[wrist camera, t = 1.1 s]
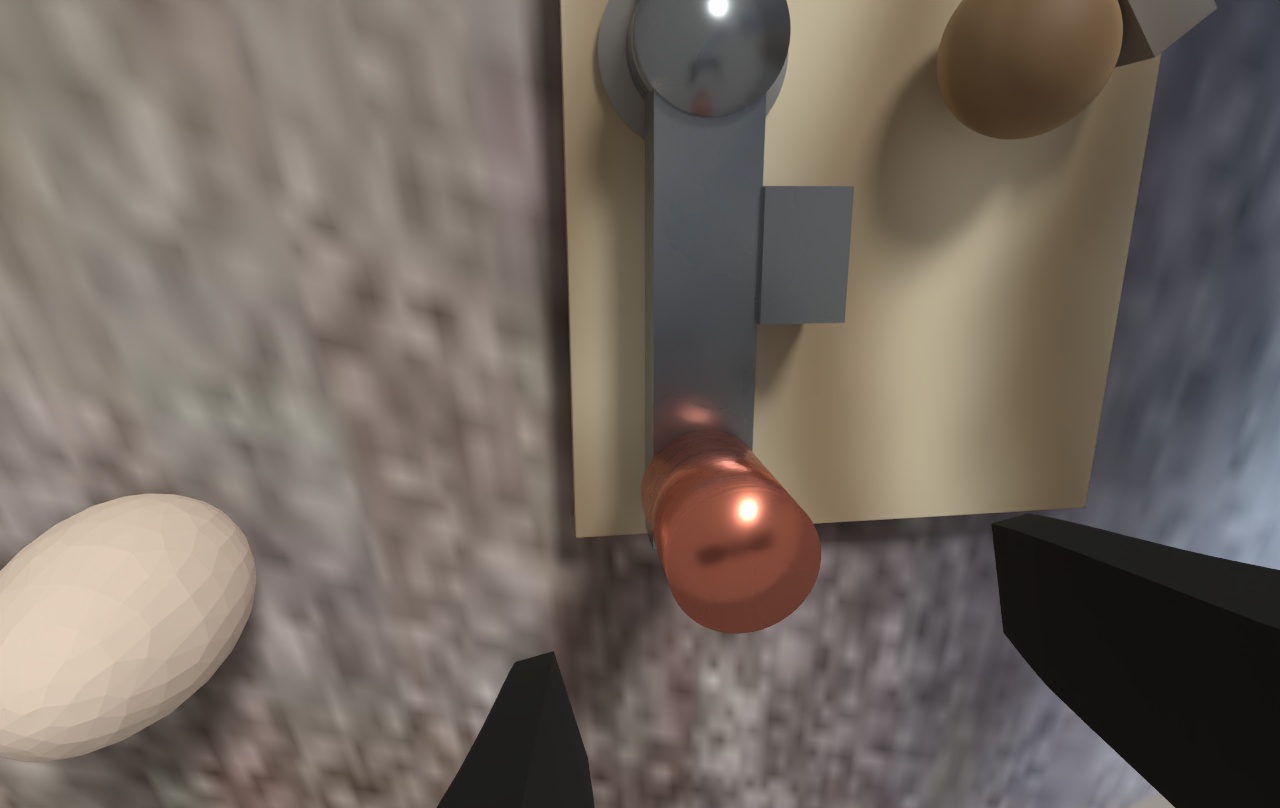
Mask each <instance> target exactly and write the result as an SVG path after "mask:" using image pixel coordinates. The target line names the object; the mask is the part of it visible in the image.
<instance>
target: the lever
mask: <svg viewBox="0 0 1280 808" xmlns="http://www.w3.org/2000/svg"><path fill="white" fill-rule="evenodd" d="M790 34H791V24H790V14H789V9H788V5H787V1H786V0H639V2H638V4H637V6H636V9H635V11H634V13H633V15H632V18H631V20H630V24H629V27H628V32H627V38H626V58H627V64H628V69H629V72H630V75H631V79H632V81H633V83H634V85H635V87H636V89H637V91H638V92H639V94H640V96H641V97H642V98H643V99H644V101H645V473H644V476H643V480H642V485H641V501H642V506H643V510H644V512H645V527H646V530H647V533H648V536H649V539H650V542H651V545H652V548H653V550H657V551H658V553H659V556H660V559H661V562H662V565H663V568H664V571H665V574H666V577H667V580H668V583H669V586H670V588H671V591H672V594H673V596H674V598H675V600H676V602H677V603H678V605H679V606H680V607H681V609H682V610H683V611H684V612H685V613H686V614H687V615H688V616H689V617H690V618H691V619H693V620H694V621H696V622H697V623H699V624H701V625H702V626H704V627H707V628H709V629H712V630H715V631H719V632H724V633H748V632H754V631H758V630H762V629H764V628H767V627H770V626H772V625H774V624H776V623H778V622H780V621H781V620H783V619H784V618H786V617H787V616H789V615H790V614H791V613H792V612H793V611H795V610H796V609H797V608H798V607H799V606H800V605H801V604H802V602H803V601H804V600H805V599H806V597H807V596H808V594H809V593H810V591H811V589H812V588H813V586H814V583H815V581H816V579H817V576H818V572H819V569H820V562H821V546H820V540H819V536H818V533H817V530H816V528H815V526H814V524H813V522H812V520H811V519H810V517H809V516H808V515H807V514H806V512H805V511H804V510H803V509H802V508H801V507H800V506H799V504H798V503H797V502H796V501H795V500H794V499H793V498H792V496H791V495H790V494H789V493H788V492H787V491H786V490H785V489H784V487H783V486H782V485H781V484H780V483H779V482H778V481H777V479H776V478H775V477H774V476H773V475H772V474H771V473H770V471H769V470H768V469H767V468H766V467H765V466H764V465H763V463H762V462H761V461H760V460H759V459H758V458H757V457H756V456H755V454H754V453H753V452H752V451H753V425H754V400H755V374H756V349H757V323H758V324H760V325H768V324H811V323H845V311H846V297H847V282H848V268H849V254H850V240H851V226H852V211H853V197H854V186H763V170H764V144H765V119H766V93H767V91H768V90H769V88H770V87H771V86H772V85H773V83H774V82H775V80H776V79H777V77H778V76H779V74H780V72H781V70H782V68H783V66H784V63H785V60H786V57H787V53H788V49H789V44H790Z"/></svg>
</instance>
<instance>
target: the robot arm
mask: <svg viewBox="0 0 1280 808" xmlns="http://www.w3.org/2000/svg"><path fill="white" fill-rule="evenodd" d="M992 532H993V541H994V550H995V559H996V568H997V578H998V587H999V596H1000V605H1001V614H1002V623H1003V632H1004V634H1005V635H1006V636H1007V638H1008V639H1009V640H1010V641H1011V643H1012V644H1013V645H1014V647H1015V648H1016V649H1017V650H1018V652H1019V653H1020V654H1021V655H1022V657H1023V658H1024V659H1025V660H1026V662H1027V663H1028V664H1029V665H1030V666H1031V668H1032V669H1033V670H1034V671H1035V672H1036V674H1037V675H1038V676H1039V677H1040V678H1041V679H1042V681H1043V682H1044V683H1045V684H1046V685H1047V686H1048V687H1049V688H1050V689H1051V690H1052V691H1053V692H1054V693H1055V694H1056V695H1057V696H1058V697H1059V698H1060V699H1061V700H1062V701H1063V702H1064V703H1065V704H1066V705H1067V706H1068V707H1069V708H1070V709H1071V710H1072V711H1074V712H1075V713H1076V714H1077V715H1078V716H1079V717H1080V718H1081V719H1082V720H1083V721H1084V722H1085V723H1086V724H1087V725H1088V726H1089V727H1090V728H1091V729H1092V730H1093V731H1094V732H1096V733H1097V734H1098V735H1099V736H1100V737H1101V738H1102V739H1103V740H1104V741H1105V742H1106V743H1107V744H1108V745H1109V746H1110V747H1111V748H1113V749H1114V750H1115V751H1116V752H1117V753H1118V754H1119V755H1120V756H1121V757H1122V758H1123V759H1124V760H1125V761H1126V762H1127V763H1128V764H1130V765H1131V766H1132V767H1133V768H1134V769H1135V770H1136V771H1137V772H1138V773H1139V774H1140V775H1141V776H1142V777H1143V778H1144V779H1145V780H1147V781H1148V782H1149V783H1150V784H1151V785H1152V786H1153V787H1154V788H1155V789H1156V790H1157V791H1158V792H1159V793H1160V794H1161V795H1162V796H1164V797H1165V798H1166V799H1167V800H1168V801H1169V802H1170V803H1171V804H1172V805H1173V806H1174V807H1175V808H1280V570H1276V569H1271V568H1266V567H1261V566H1256V565H1251V564H1246V563H1241V562H1237V561H1232V560H1227V559H1222V558H1217V557H1213V556H1208V555H1204V554H1199V553H1195V552H1191V551H1186V550H1182V549H1178V548H1174V547H1169V546H1165V545H1161V544H1157V543H1153V542H1149V541H1145V540H1141V539H1137V538H1133V537H1129V536H1125V535H1121V534H1117V533H1113V532H1109V531H1105V530H1101V529H1097V528H1093V527H1089V526H1085V525H1081V524H1077V523H1072V522H1068V521H1064V520H1059V519H1055V518H1050V517H1045V516H1039V515H1033V514H1024V515H1021V516H1017V517H1014V518H1010V519H1007V520H1004V521H1000V522H997V523H993V524H992ZM437 808H595V806H594V799H593V792H592V785H591V778H590V771H589V764H588V757H587V754H586V751H585V748H584V745H583V742H582V739H581V735H580V732H579V729H578V726H577V723H576V720H575V717H574V714H573V710H572V707H571V704H570V701H569V698H568V695H567V692H566V688H565V685H564V682H563V679H562V676H561V673H560V670H559V667H558V663H557V660H556V657H555V654H554V651H553V652H549V653H546V654H542V655H539V656H535V657H532V658H528V659H525V660H522V661H518V662H515V663H514V665H513V667H512V668H511V670H510V672H509V674H508V676H507V678H506V680H505V682H504V684H503V686H502V688H501V690H500V692H499V695H498V697H497V699H496V701H495V703H494V705H493V707H492V709H491V711H490V713H489V715H488V717H487V719H486V721H485V723H484V725H483V727H482V729H481V731H480V733H479V734H478V736H477V738H476V740H475V742H474V744H473V746H472V747H471V749H470V751H469V753H468V755H467V757H466V759H465V761H464V762H463V764H462V766H461V768H460V770H459V771H458V773H457V775H456V777H455V778H454V780H453V782H452V783H451V785H450V786H449V788H448V790H447V791H446V793H445V795H444V796H443V798H442V800H441V801H440V803H439V805H438V806H437Z"/></svg>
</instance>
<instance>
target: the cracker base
mask: <svg viewBox="0 0 1280 808" xmlns="http://www.w3.org/2000/svg"><path fill="white" fill-rule="evenodd" d="M786 1H787V5H788V9H789V14H790V24H791V34H790V44H789V49H788V53H787V57H786V60H785V63H784V66H783V68H782V70H781V72H780V74H779V76H778V77H777V79H776V80H775V82H774V83H773V85H772V86H771V87H770V88H769V90H768V91H767V93H766V119H765V144H764V170H763V186H854V197H853V211H852V226H851V240H850V254H849V268H848V282H847V297H846V311H845V323H811V324H768V325H760V324H758V323H757V349H756V374H755V400H754V425H753V451H752V452H753V453H754V454H755V456H756V457H757V458H758V459H759V460H760V461H761V462H762V463H763V465H764V466H765V467H766V468H767V469H768V470H769V471H770V473H771V474H772V475H773V476H774V477H775V478H776V479H777V481H778V482H779V483H780V484H781V485H782V486H783V487H784V489H785V490H786V491H787V492H788V493H789V494H790V495H791V496H792V498H793V499H794V500H795V501H796V502H797V503H798V504H799V506H800V507H801V508H802V509H803V510H804V511H805V512H806V514H807V515H808V516H809V517H810V519H811V520H812V522H813V524H815V523H832V522H849V521H866V520H882V519H899V518H916V517H933V516H950V515H967V514H984V513H1000V512H1017V511H1034V510H1051V509H1068V508H1085V506H1086V500H1087V494H1088V488H1089V483H1090V477H1091V471H1092V465H1093V459H1094V453H1095V447H1096V441H1097V435H1098V429H1099V423H1100V417H1101V411H1102V405H1103V399H1104V393H1105V387H1106V381H1107V375H1108V369H1109V363H1110V357H1111V351H1112V345H1113V339H1114V333H1115V327H1116V321H1117V316H1118V310H1119V304H1120V298H1121V292H1122V286H1123V280H1124V274H1125V268H1126V262H1127V256H1128V250H1129V244H1130V238H1131V232H1132V226H1133V220H1134V214H1135V208H1136V202H1137V196H1138V190H1139V184H1140V178H1141V172H1142V166H1143V160H1144V154H1145V149H1146V143H1147V137H1148V131H1149V125H1150V119H1151V113H1152V107H1153V101H1154V95H1155V89H1156V83H1157V77H1158V71H1159V65H1160V59H1161V53H1162V52H1163V51H1164V50H1165V49H1167V48H1168V47H1169V46H1170V45H1172V44H1173V43H1174V42H1175V41H1177V40H1178V39H1179V38H1180V37H1182V36H1183V35H1184V34H1185V33H1187V32H1188V31H1189V30H1191V29H1192V28H1193V27H1194V26H1196V25H1197V24H1198V23H1199V22H1201V21H1202V20H1203V19H1204V18H1206V17H1207V16H1208V15H1209V14H1211V13H1212V12H1213V11H1214V10H1216V9H1217V6H1216V3H1215V1H1214V0H786ZM638 2H639V0H559V6H560V41H561V76H562V111H563V146H564V181H565V216H566V251H567V286H568V321H569V356H570V391H571V426H572V461H573V496H574V523H575V532H576V538H579V537H596V536H613V535H630V534H646V533H647V530H646V527H645V512H644V510H643V506H642V501H641V485H642V480H643V476H644V473H645V101H644V99H643V98H642V97H641V96H640V94H639V92H638V91H637V89H636V87H635V85H634V83H633V81H632V79H631V75H630V72H629V69H628V64H627V58H626V38H627V32H628V27H629V24H630V20H631V18H632V15H633V13H634V11H635V9H636V6H637V4H638Z"/></svg>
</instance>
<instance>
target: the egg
mask: <svg viewBox="0 0 1280 808" xmlns="http://www.w3.org/2000/svg"><path fill="white" fill-rule="evenodd" d="M255 587H256V569H255V563H254V557H253V555H252V552H251V550H250V547H249V544H248V542H247V539H246V536H245V535H244V534H243V532H242V531H241V530H240V529H239V528H238V527H237V526H236V524H235V523H234V522H233V521H232V520H231V519H230V518H229V517H228V516H227V515H226V514H225V513H224V512H222V511H221V510H219V509H217V508H215V507H213V506H211V505H210V504H208V503H206V502H204V501H200V500H196V499H192V498H189V497H185V496H179V495H173V494H141V495H133V496H125V497H121V498H118V499H115V500H111V501H108V502H105V503H101V504H98V505H94V506H91V507H89V508H88V509H86V510H84V511H82V512H80V513H78V514H76V515H74V516H72V517H70V518H68V519H66V520H64V521H62V522H60V523H58V524H56V525H54V526H53V527H52V528H50V529H49V530H48V531H46V532H45V533H43V534H42V535H41V536H39V537H38V538H37V539H35V540H34V541H33V542H31V543H30V544H29V545H27V546H26V547H24V548H23V549H22V550H21V551H20V552H19V553H18V554H17V555H16V556H15V557H14V558H13V559H12V560H11V561H10V562H9V563H8V564H7V565H6V566H5V567H4V568H3V569H2V570H1V571H0V756H2V757H4V758H7V759H12V760H18V761H24V762H48V761H54V760H60V759H66V758H71V757H77V756H82V755H85V754H88V753H90V752H93V751H96V750H98V749H101V748H104V747H107V746H109V745H112V744H115V743H118V742H120V741H123V740H125V739H126V738H128V737H130V736H132V735H133V734H135V733H137V732H139V731H141V730H142V729H144V728H146V727H148V726H150V725H151V724H153V723H155V722H157V721H158V720H160V719H162V718H164V717H166V716H167V715H169V714H170V713H172V712H173V711H174V710H175V709H176V708H177V707H179V706H180V705H181V704H182V703H183V702H184V701H186V700H187V699H188V698H189V697H190V696H191V695H192V694H194V693H195V692H196V691H197V690H198V689H199V688H200V687H202V686H203V685H204V684H205V683H206V682H207V681H208V680H209V679H210V678H211V677H212V675H213V674H214V673H215V672H216V670H217V669H218V668H219V667H220V665H221V664H222V663H223V662H224V660H225V659H226V658H227V657H228V655H229V654H230V653H231V652H232V650H233V648H234V647H235V645H236V643H237V641H238V639H239V638H240V636H241V634H242V631H243V629H244V627H245V625H246V623H247V621H248V619H249V616H250V614H251V610H252V607H253V603H254V595H255Z"/></svg>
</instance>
